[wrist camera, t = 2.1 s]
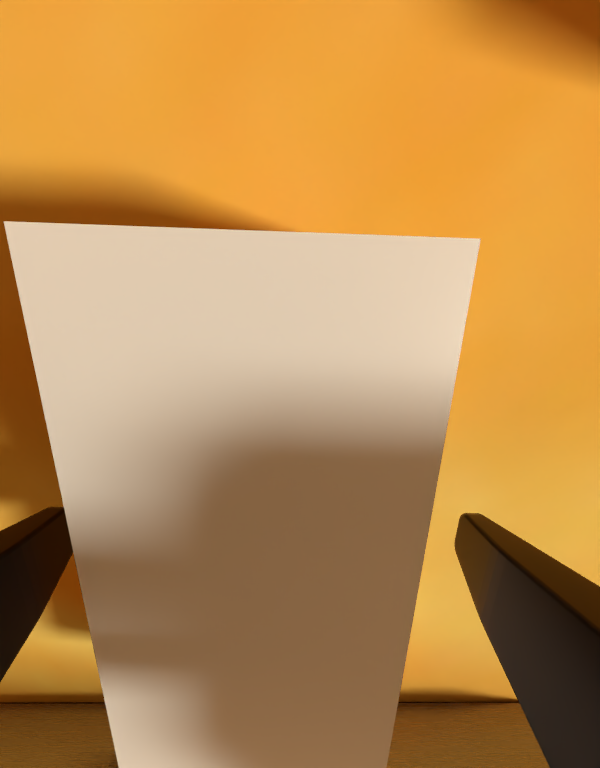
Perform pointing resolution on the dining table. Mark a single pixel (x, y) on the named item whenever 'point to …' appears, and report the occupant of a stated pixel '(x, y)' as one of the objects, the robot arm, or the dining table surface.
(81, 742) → the divided tray
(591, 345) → the dining table surface
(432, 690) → the dining table surface
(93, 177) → the dining table surface
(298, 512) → the blanking panel
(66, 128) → the dining table surface
